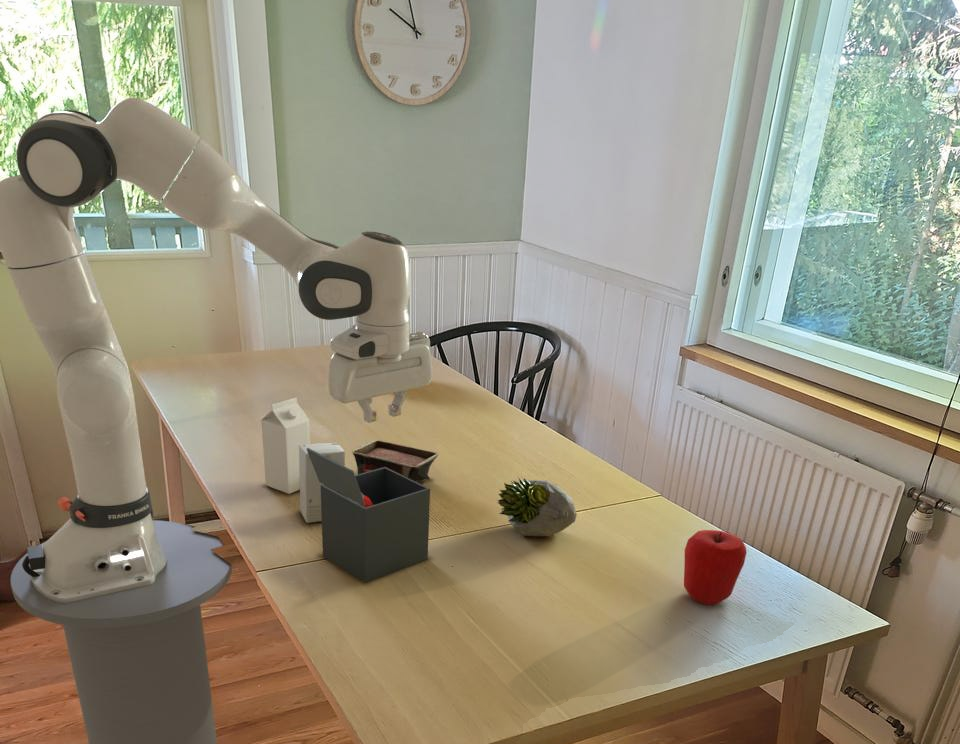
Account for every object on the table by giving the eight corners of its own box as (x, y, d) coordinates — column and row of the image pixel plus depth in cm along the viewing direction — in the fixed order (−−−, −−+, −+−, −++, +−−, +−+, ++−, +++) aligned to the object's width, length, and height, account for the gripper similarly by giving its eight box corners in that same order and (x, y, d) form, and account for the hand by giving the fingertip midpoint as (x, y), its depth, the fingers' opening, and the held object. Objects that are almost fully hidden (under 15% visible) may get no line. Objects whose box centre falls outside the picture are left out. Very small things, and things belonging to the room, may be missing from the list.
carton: (365, 582, 156) (364, 509, 149) (322, 556, 164) (320, 484, 156) (427, 558, 166) (430, 488, 158) (384, 534, 173) (385, 466, 166)
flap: (365, 505, 149) (363, 506, 148) (321, 481, 156) (319, 482, 156) (353, 470, 143) (351, 471, 143) (307, 447, 151) (306, 448, 151)
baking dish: (385, 472, 206) (378, 431, 201) (448, 479, 198) (443, 437, 193) (349, 495, 196) (340, 454, 191) (414, 504, 187) (407, 461, 182)
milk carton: (265, 485, 190) (259, 401, 180) (289, 476, 195) (284, 393, 185) (288, 494, 187) (284, 409, 177) (312, 485, 192) (308, 401, 182)
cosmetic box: (306, 524, 175) (303, 454, 168) (299, 511, 180) (296, 443, 172) (347, 519, 178) (345, 450, 171) (339, 507, 183) (337, 440, 175)
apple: (733, 589, 163) (749, 523, 156) (734, 616, 154) (751, 548, 147) (677, 579, 165) (690, 514, 158) (675, 606, 156) (689, 538, 149)
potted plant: (580, 533, 172) (514, 520, 165) (546, 548, 183) (483, 537, 177) (580, 475, 174) (515, 460, 168) (547, 494, 186) (485, 481, 179)
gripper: (417, 326, 153) (415, 402, 160) (321, 341, 140) (324, 424, 147) (441, 334, 149) (438, 412, 156) (345, 350, 137) (347, 434, 144)
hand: (382, 418), depth 152 cm, fingers open, 4 cm apart
